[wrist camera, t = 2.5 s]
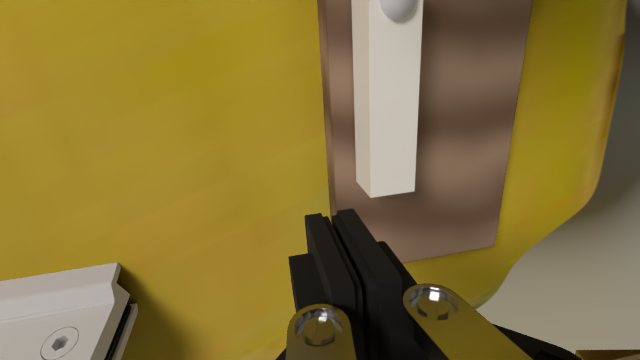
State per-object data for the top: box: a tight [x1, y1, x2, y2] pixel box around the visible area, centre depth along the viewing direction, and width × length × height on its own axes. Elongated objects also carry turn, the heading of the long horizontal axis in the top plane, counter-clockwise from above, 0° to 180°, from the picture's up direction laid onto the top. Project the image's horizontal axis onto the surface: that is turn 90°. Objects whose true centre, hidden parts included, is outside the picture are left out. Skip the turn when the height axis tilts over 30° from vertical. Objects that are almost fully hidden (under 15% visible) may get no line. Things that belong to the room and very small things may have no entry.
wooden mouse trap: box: [317, 0, 533, 263], centre depth 22 cm, size 24×14×6 cm, turn 4°
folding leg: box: [351, 0, 423, 198], centre depth 19 cm, size 12×3×3 cm, turn 4°
